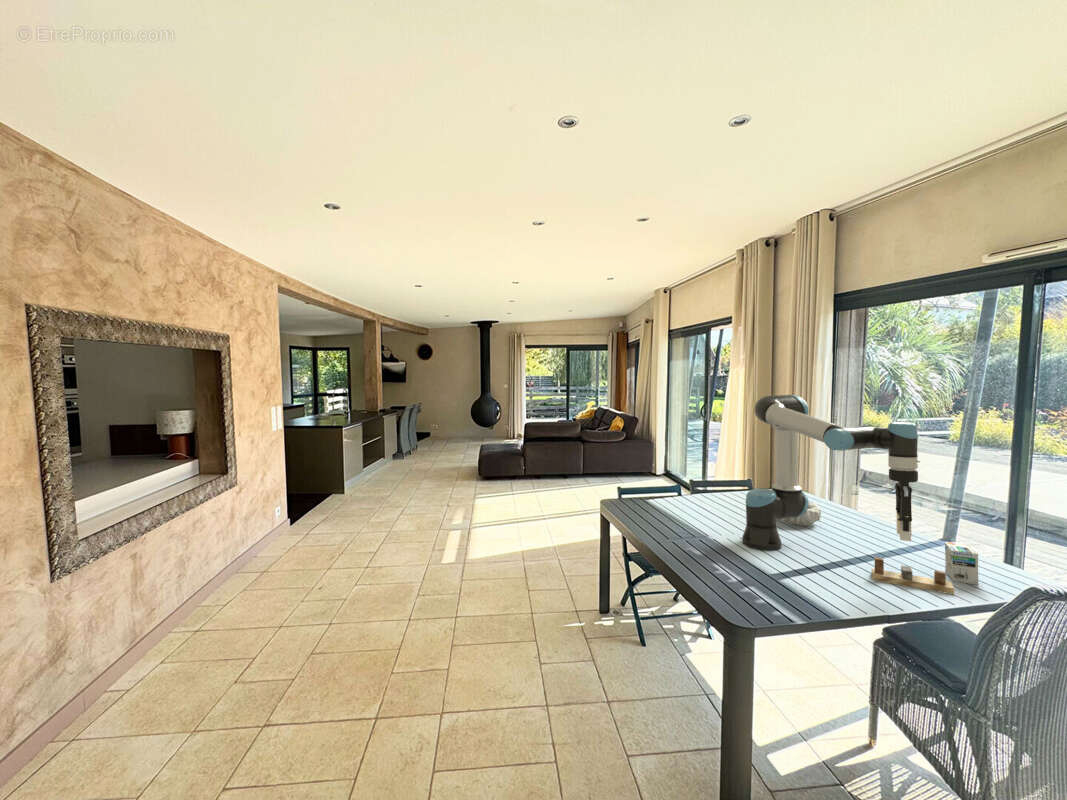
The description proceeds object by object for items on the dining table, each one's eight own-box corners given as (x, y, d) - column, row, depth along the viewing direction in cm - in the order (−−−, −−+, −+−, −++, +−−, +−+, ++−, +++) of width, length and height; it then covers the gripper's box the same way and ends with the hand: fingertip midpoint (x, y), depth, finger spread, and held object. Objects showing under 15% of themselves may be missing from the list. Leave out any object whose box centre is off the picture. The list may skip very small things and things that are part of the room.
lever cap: (899, 534, 146) (899, 513, 146) (896, 529, 152) (896, 508, 152) (911, 536, 145) (911, 514, 144) (908, 530, 150) (907, 509, 150)
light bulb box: (979, 585, 149) (979, 553, 149) (952, 581, 153) (952, 550, 152) (969, 574, 158) (969, 544, 158) (944, 570, 162) (944, 541, 161)
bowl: (832, 529, 210) (832, 508, 210) (789, 530, 210) (788, 509, 210) (806, 517, 231) (805, 498, 231) (766, 518, 231) (766, 499, 231)
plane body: (872, 579, 155) (872, 560, 155) (871, 573, 160) (871, 554, 160) (954, 594, 143) (954, 572, 143) (950, 587, 148) (950, 566, 148)
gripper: (923, 474, 138) (924, 548, 138) (912, 465, 154) (913, 530, 155) (892, 472, 142) (893, 544, 142) (885, 463, 158) (886, 527, 159)
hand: (903, 537), depth 148 cm, fingers closed on lever cap, 7 cm apart
